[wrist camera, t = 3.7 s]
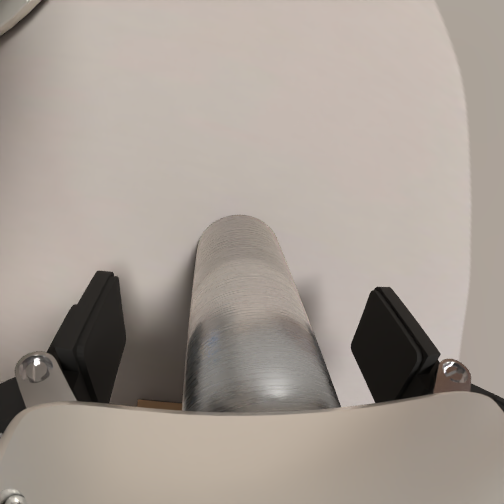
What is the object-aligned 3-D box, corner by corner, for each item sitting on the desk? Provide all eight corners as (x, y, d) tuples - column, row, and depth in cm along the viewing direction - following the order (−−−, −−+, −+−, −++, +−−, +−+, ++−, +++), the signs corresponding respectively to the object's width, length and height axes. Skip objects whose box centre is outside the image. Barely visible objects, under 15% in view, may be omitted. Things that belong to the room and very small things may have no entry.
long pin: (199, 211, 14) (172, 435, 5) (285, 218, 15) (385, 424, 5) (195, 286, 16) (183, 502, 6) (272, 290, 17) (326, 495, 7)
